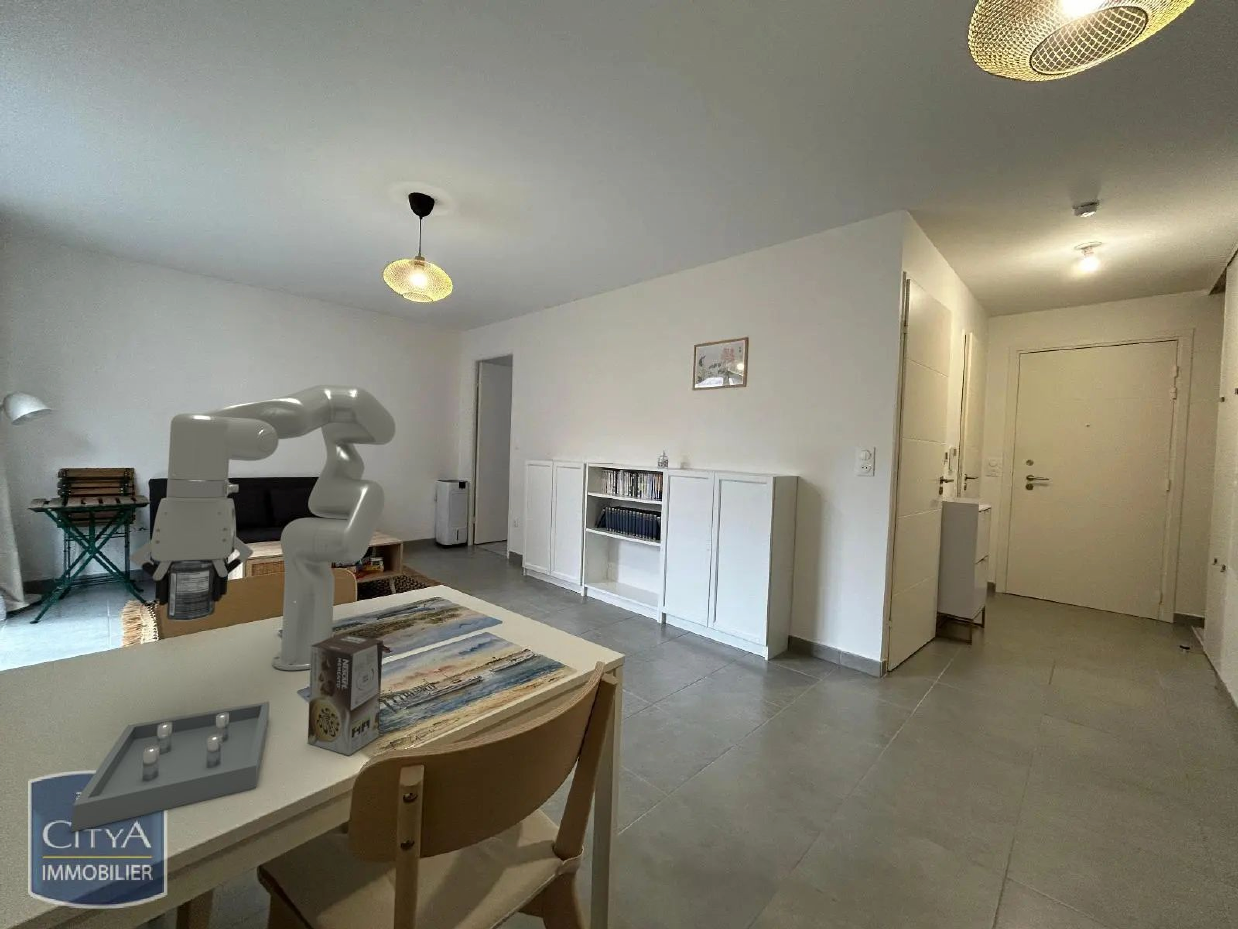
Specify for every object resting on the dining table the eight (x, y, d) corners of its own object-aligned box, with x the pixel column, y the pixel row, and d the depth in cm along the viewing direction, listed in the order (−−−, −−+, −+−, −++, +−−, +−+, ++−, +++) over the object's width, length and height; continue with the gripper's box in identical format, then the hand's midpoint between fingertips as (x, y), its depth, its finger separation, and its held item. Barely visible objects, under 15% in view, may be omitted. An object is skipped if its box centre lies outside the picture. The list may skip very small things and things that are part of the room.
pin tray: (268, 719, 86) (269, 690, 86) (255, 788, 69) (257, 751, 69) (127, 745, 77) (128, 712, 77) (71, 832, 60) (73, 789, 60)
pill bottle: (186, 610, 84) (190, 543, 84) (223, 611, 84) (227, 544, 84) (155, 621, 78) (160, 549, 78) (195, 622, 78) (199, 550, 78)
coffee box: (380, 736, 83) (385, 640, 83) (348, 757, 77) (353, 654, 77) (339, 724, 86) (343, 631, 86) (304, 743, 80) (309, 643, 80)
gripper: (265, 490, 88) (259, 591, 88) (134, 487, 80) (128, 600, 80) (259, 493, 82) (253, 602, 82) (116, 491, 73) (109, 613, 73)
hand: (191, 600), depth 81 cm, fingers closed on pill bottle, 6 cm apart
